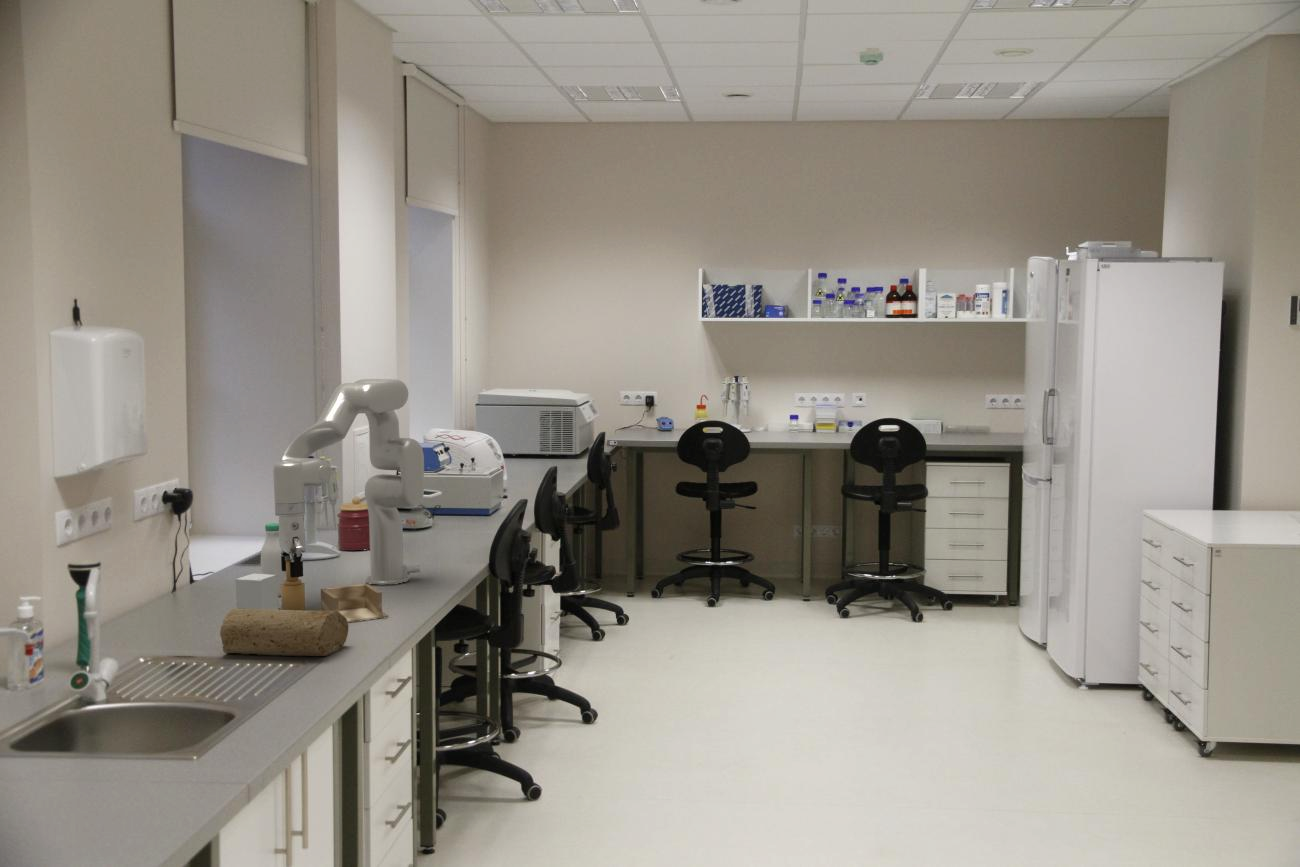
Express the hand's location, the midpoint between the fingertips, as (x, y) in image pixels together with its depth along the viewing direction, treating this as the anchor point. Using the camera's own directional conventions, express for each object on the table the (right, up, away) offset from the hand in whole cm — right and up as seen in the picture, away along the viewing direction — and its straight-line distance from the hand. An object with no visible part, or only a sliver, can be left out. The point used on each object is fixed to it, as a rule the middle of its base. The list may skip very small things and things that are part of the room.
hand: (292, 573), depth 310 cm
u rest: (+16, -11, -4) cm, 20 cm away
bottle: (0, -10, +1) cm, 10 cm away
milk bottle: (-11, -9, +23) cm, 27 cm away
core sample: (+9, -14, -37) cm, 41 cm away
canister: (-6, -3, +94) cm, 94 cm away
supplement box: (-4, -12, -13) cm, 18 cm away
